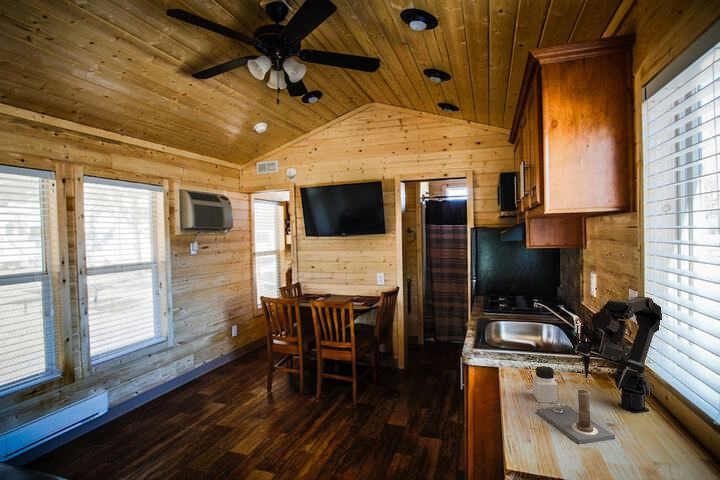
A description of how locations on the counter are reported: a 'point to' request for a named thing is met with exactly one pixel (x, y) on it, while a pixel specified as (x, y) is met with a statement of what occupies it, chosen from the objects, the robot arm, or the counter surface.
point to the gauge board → (574, 425)
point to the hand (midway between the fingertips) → (602, 384)
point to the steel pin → (557, 407)
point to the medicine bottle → (545, 385)
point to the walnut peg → (584, 412)
